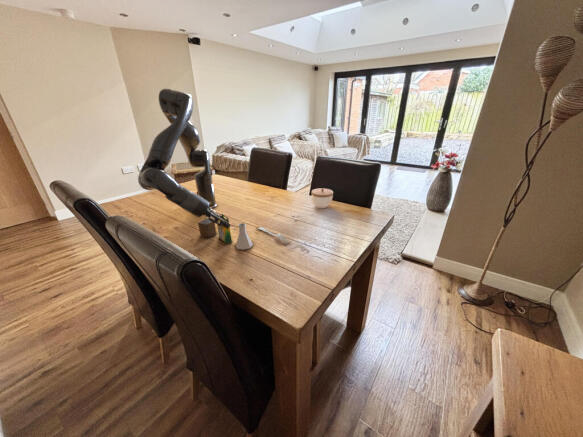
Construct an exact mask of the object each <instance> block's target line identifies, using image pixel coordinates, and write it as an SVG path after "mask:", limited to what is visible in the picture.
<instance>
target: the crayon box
mask: <svg viewBox="0 0 583 437" xmlns="http://www.w3.org/2000/svg"><path fill="white" fill-rule="evenodd" d="M220 215H221V216H222V217H221V218H222V219H223V220H224V221H226V222H228V223H229V224H230V219H229V217H227V216H226V215H225V214H223V213H222V212H221V213H220ZM218 222H220V220H218ZM216 227H217V232H218V233H217V234H218V237H219V239H220V240H221V241H222V242H224V244H226V245H228V244H231V243H232V242H233V241H232V240H233V239H232V233H231V226H230V227H229V228H228V229H227V228H225V227H224V226H222V225H221V226H219V225H217V224H216Z"/></svg>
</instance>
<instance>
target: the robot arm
mask: <svg viewBox="0 0 583 437" xmlns="http://www.w3.org/2000/svg"><path fill="white" fill-rule="evenodd" d="M158 104H159V108H160V109H161V112H162V113H163V114H164V117H165V118H166V119H167V121H168V122H169V124H170V125H168V126H167V127H165V128H164V129H163V130H162V131H160V132H159V133H158V134H157V135H156V136H155V137H154V139H153V141H152V143H151V146H150V149H149V152H148V154H147V157H146V159H145V161H144V163H143V165H142V167H141V169H140V171H139V173H138V176H137V182H138V184H139V186H140V187H141V188H142V189H144V190H145V191H155V190H157V191H159V192H160V193H161V194H163V195H164V197H165V199H166V200H168V201H169V202H171V203H173V204H175V205H176V206H178V207H180V208H181V209H182V210H184V211H186V212H187V213H189V214H191V215H193V216H194V217H196V218H201V217H203V216H204V217H205V219H206V218H207V219H209V220H210V221H212V222H214V223H215V225H216V226H217V225H219V226H221V225H222V226H224V227H225V228H227V229H228V228H229V227H230V228H231V224H230V222H229V223H228V222H226V221H224V220H223V219H222V218H221V217H222V214H221V213H220V214H219V213H218V211H217V210H216V209H215V208H216V207H217V201H216V194H215V188H214V183H213V182H214V180H213V176H212V169H211V162H210V153H209V151H208V150H207V149H197V148H198V147H199V145H200V143H201V136H200V134H199V131H198V128H196V126H195V125H194V124H193V123H192V122H191V121H190V120H191V117H192V116H193V113H194V105H195V104H194V100H193V97H192V95H191V94H189V93H186V92H183V91H180V90H175V89H171V88H162V89H161V90H159V92H158ZM178 141H179V143H180V145H181V146H182V148H183V150H184V153H185V155H186V158H187V161H188V164H189V165H190V166H191V167H192V168H204V169H202V170H200V171H198V172H196V173H195V174H194V181H195V186H196V193H195V192H194V191H191V190H190V189H188V188H186V187H185V186H183V185H181V184H180V183H178V182H177V181H176V179H174V178H173V177H172V176H171V175H169V173H167V172H166V170H165V169H166V168H167V167H168V166H169V164H170V163H171V161H172V158H173V155H174V152H175V148H176V146H177V144H178ZM218 220H220V222H218Z"/></svg>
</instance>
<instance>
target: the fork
mask: <svg viewBox="0 0 583 437" xmlns="http://www.w3.org/2000/svg"><path fill="white" fill-rule="evenodd" d="M257 229H258V230H259V231H263V232H265V233H267V234H269V235H271V236H274V237H277V238H278V239H280V240H281V242H283V243H284V244H285V245H288V244H290V242H289V241H288V240H287V238H286V237H285V236H284V235H283V234H282V233H278V234H275V233H272V232H271V231H269V230H268V229H266V228H265V227H263V226H259V227H258V228H257Z"/></svg>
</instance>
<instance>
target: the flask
mask: <svg viewBox="0 0 583 437" xmlns="http://www.w3.org/2000/svg"><path fill="white" fill-rule="evenodd" d="M237 227H238V236H237V240H236V243H235V247H236V249H237V250H243V251H244V250H249V249H251V248H252V247H253V245H254V244H253V242H252V240H251V238H250V237H249V234H248V232H247V229H246V228H247V224H246V223H245V222H240V223H238V224H237Z"/></svg>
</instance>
